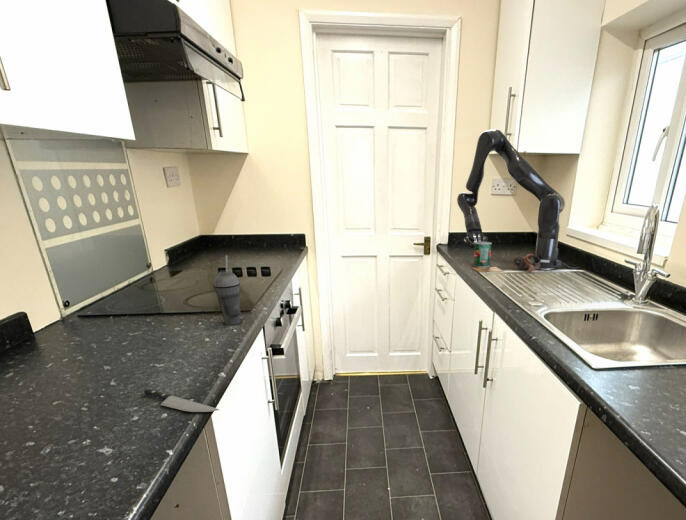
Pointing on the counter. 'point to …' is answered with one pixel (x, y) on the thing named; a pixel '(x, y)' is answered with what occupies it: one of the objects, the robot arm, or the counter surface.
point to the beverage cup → (228, 295)
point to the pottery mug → (527, 262)
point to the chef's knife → (180, 402)
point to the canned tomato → (482, 254)
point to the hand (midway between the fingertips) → (479, 253)
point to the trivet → (487, 269)
